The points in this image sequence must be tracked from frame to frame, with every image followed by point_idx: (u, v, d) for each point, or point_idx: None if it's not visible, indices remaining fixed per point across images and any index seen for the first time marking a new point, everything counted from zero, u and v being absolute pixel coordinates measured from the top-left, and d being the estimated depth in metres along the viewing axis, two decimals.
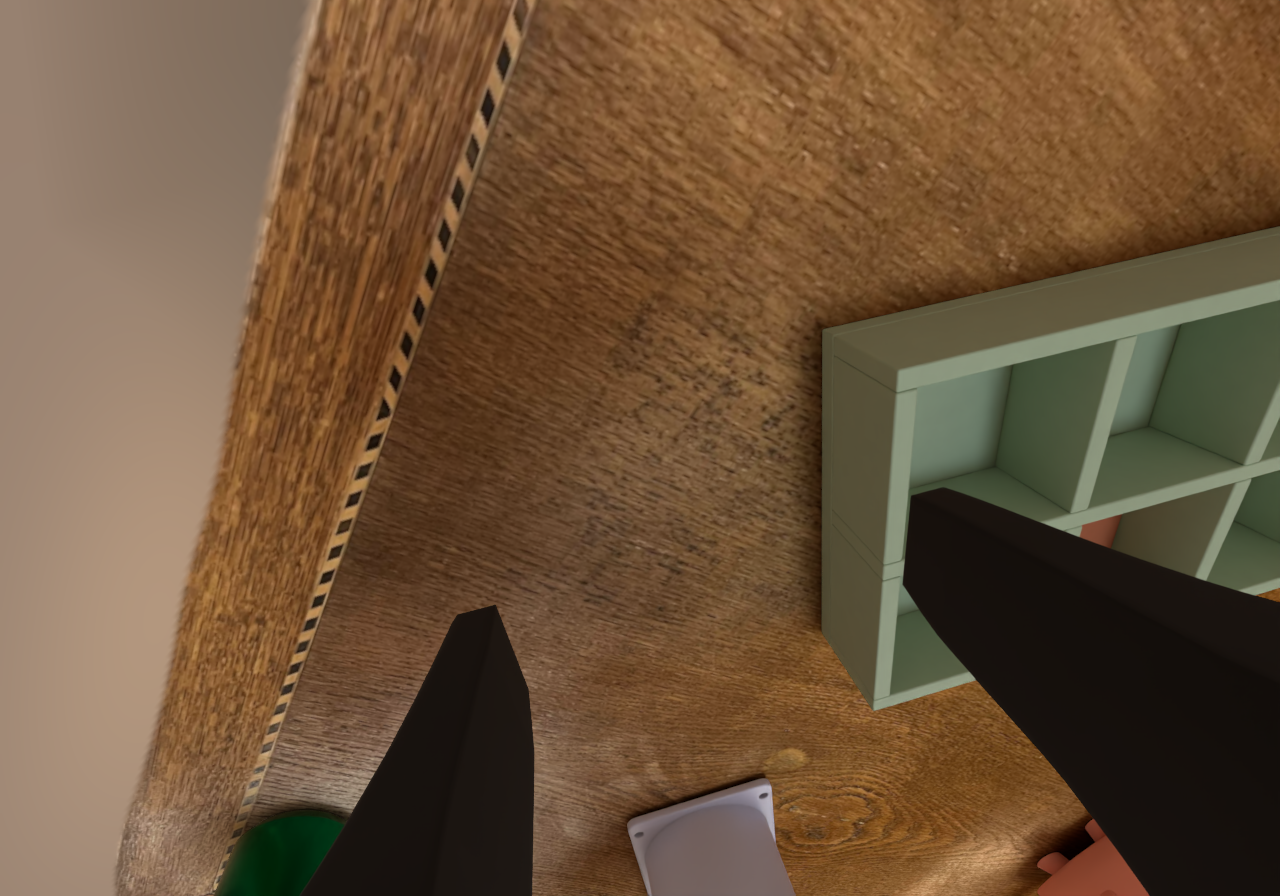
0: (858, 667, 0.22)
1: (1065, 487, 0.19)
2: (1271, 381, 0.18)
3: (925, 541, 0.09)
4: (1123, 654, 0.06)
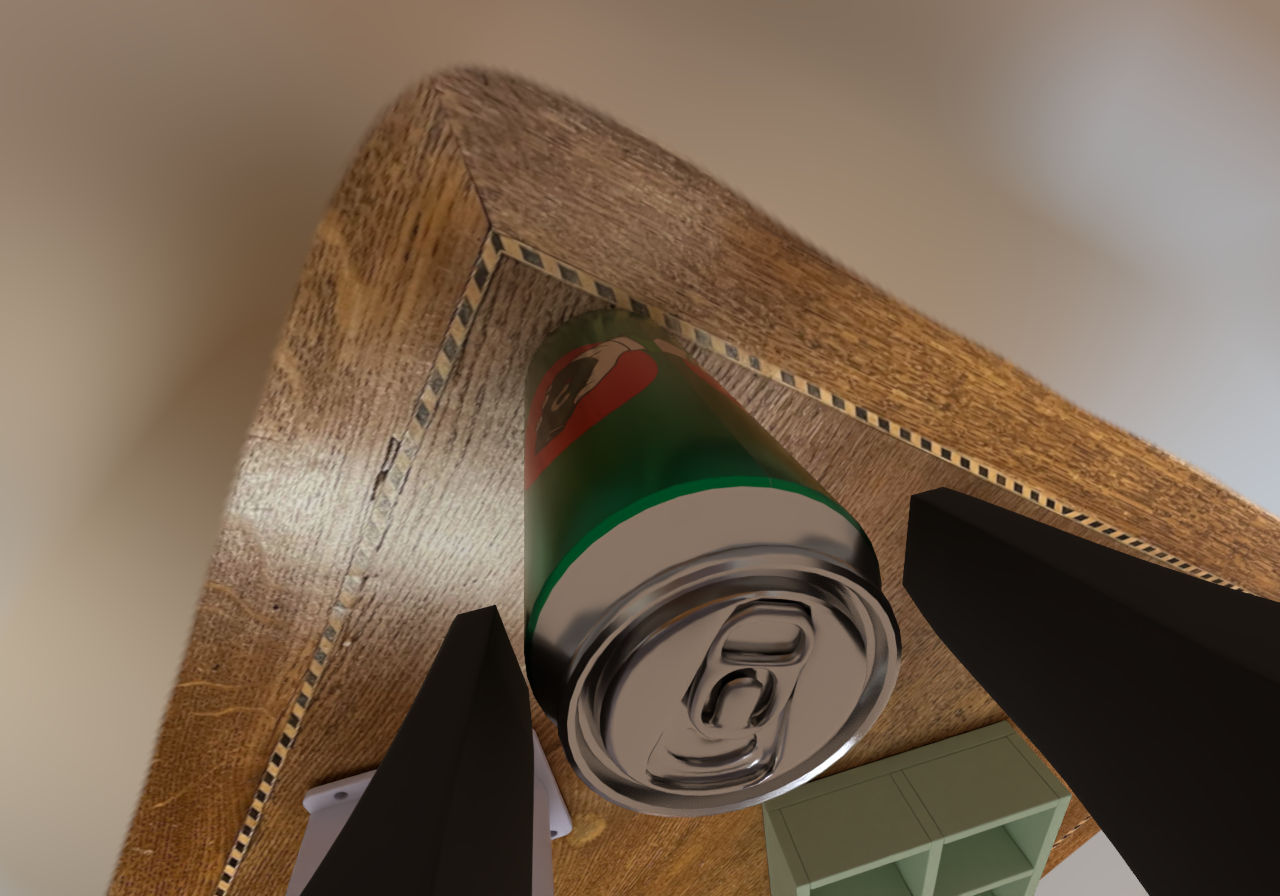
0: (810, 853, 0.27)
1: (941, 891, 0.31)
2: None
3: (925, 541, 0.09)
4: (1123, 654, 0.06)
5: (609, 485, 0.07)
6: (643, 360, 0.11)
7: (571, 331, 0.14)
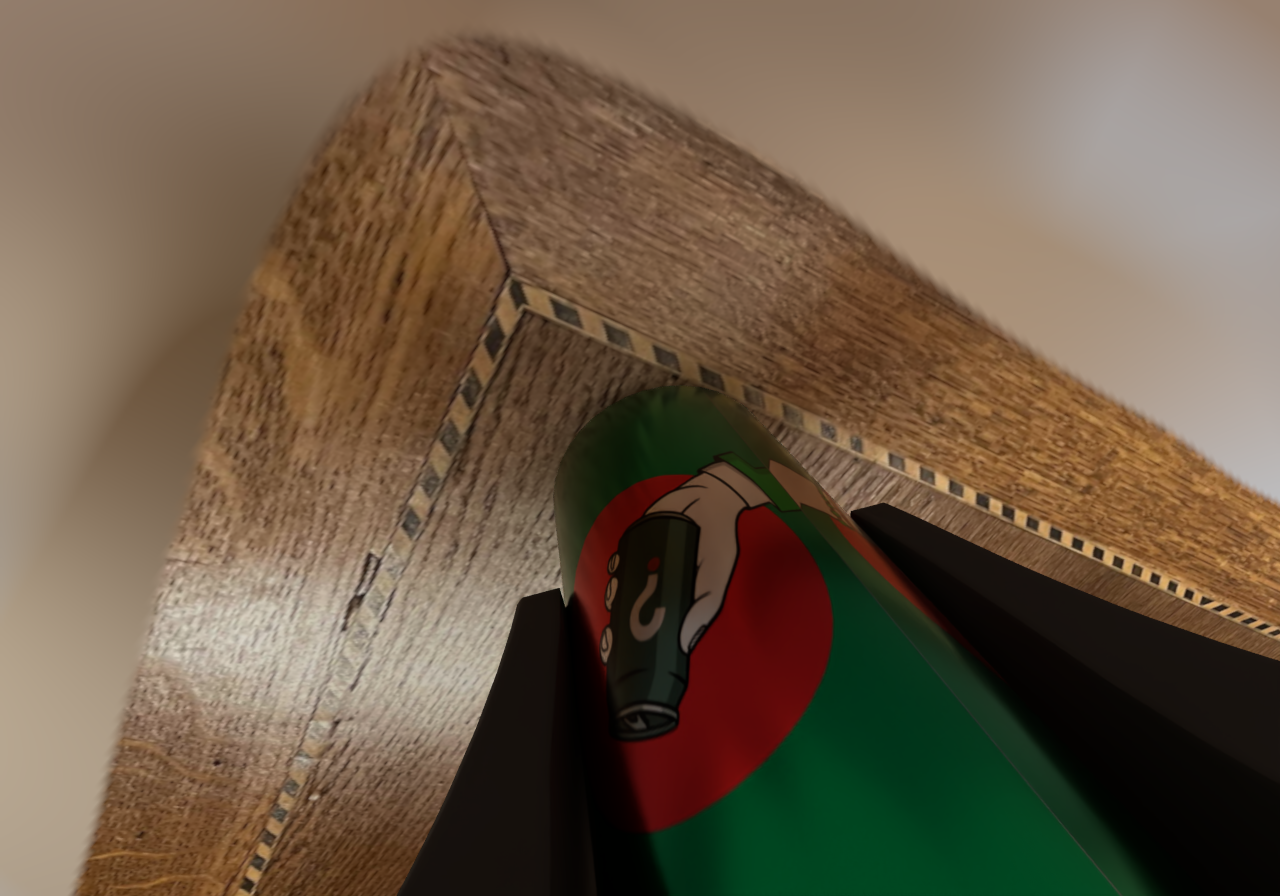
0: None
1: None
2: None
3: None
4: (1036, 680, 0.06)
5: None
6: (783, 542, 0.07)
7: (629, 430, 0.10)
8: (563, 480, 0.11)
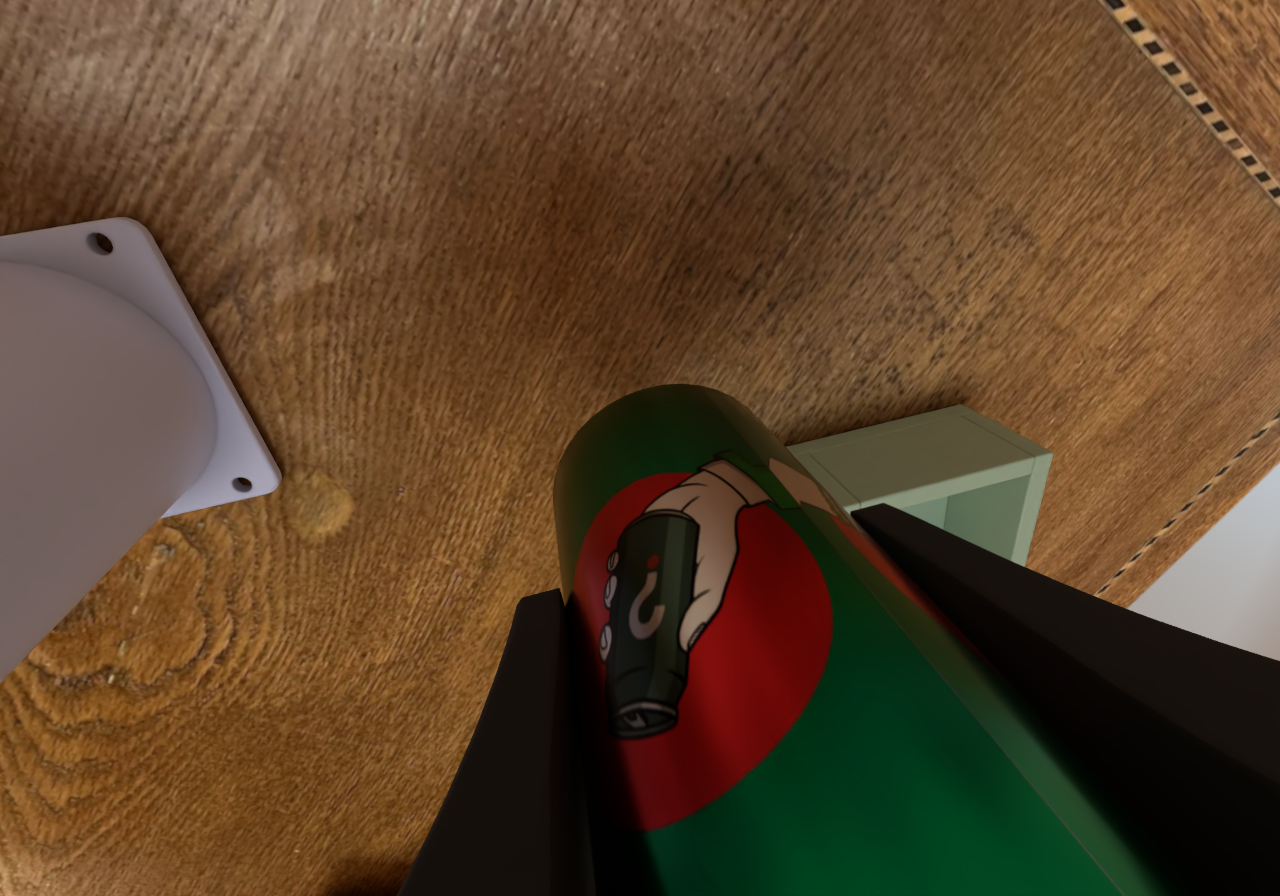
0: None
1: None
2: None
3: None
4: (1036, 680, 0.06)
5: None
6: (783, 540, 0.07)
7: (628, 428, 0.10)
8: (562, 478, 0.11)
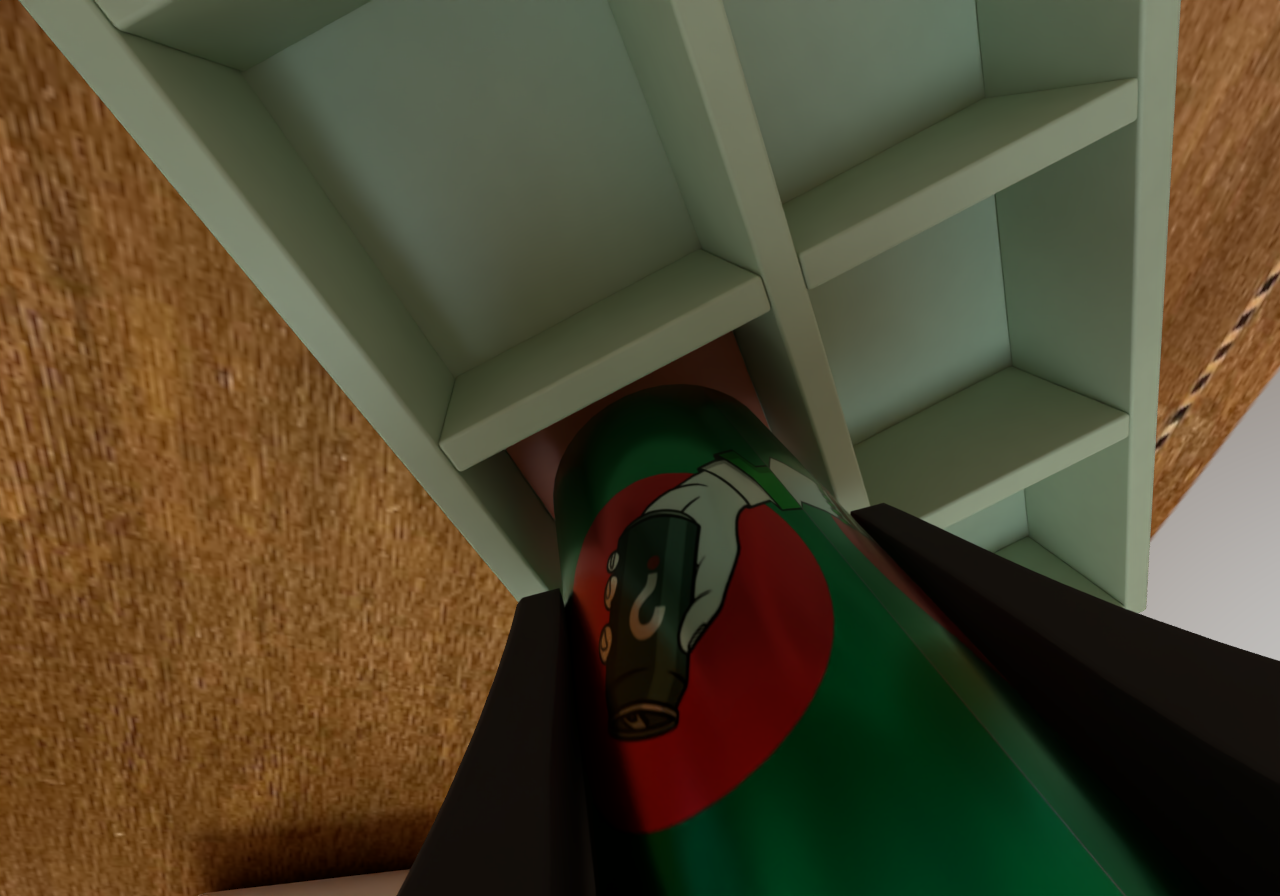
0: None
1: (832, 227, 0.10)
2: (1000, 469, 0.13)
3: None
4: (1036, 681, 0.06)
5: None
6: (784, 540, 0.06)
7: (629, 428, 0.10)
8: (563, 479, 0.11)
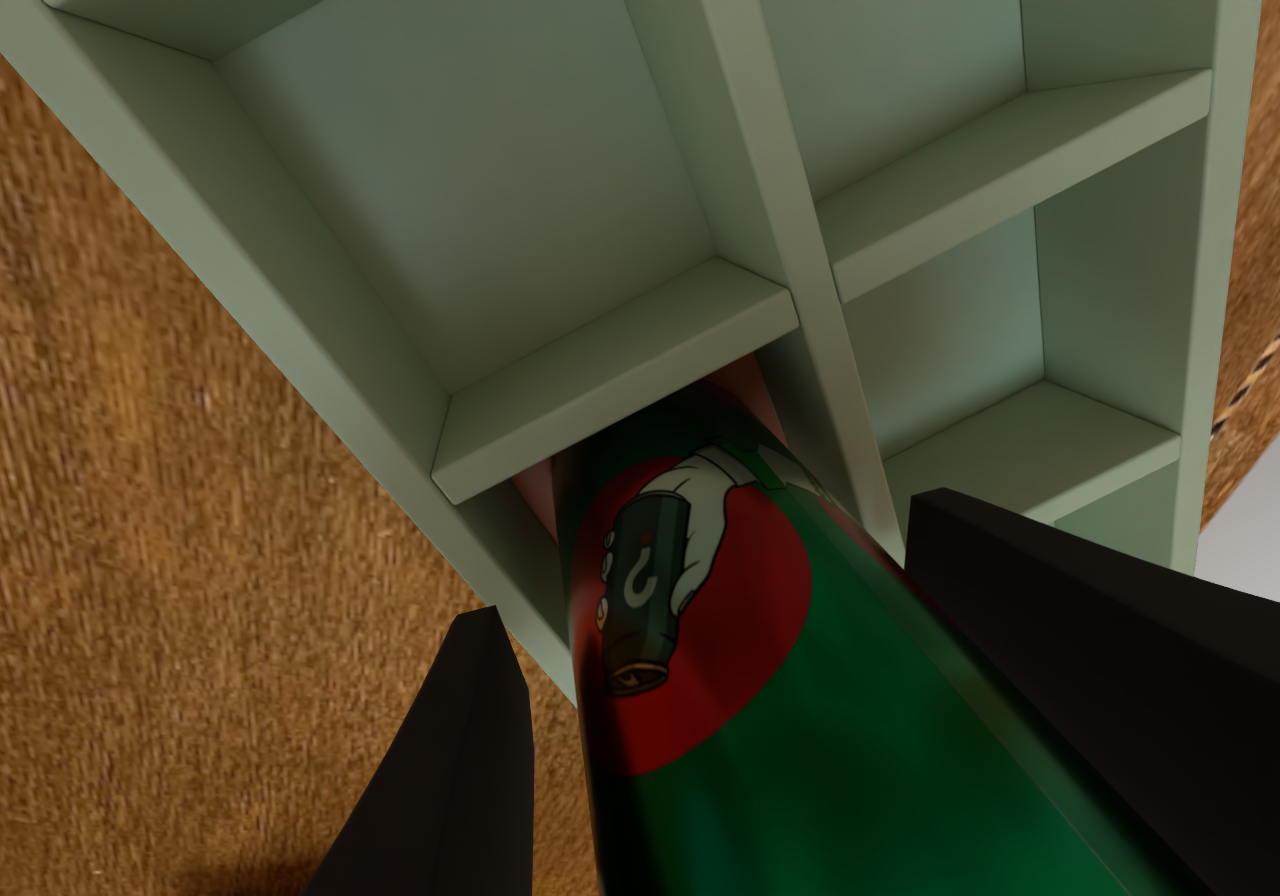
0: None
1: (868, 235, 0.09)
2: (1040, 495, 0.12)
3: (925, 541, 0.09)
4: (1123, 654, 0.06)
5: None
6: (768, 516, 0.07)
7: None
8: (561, 466, 0.11)
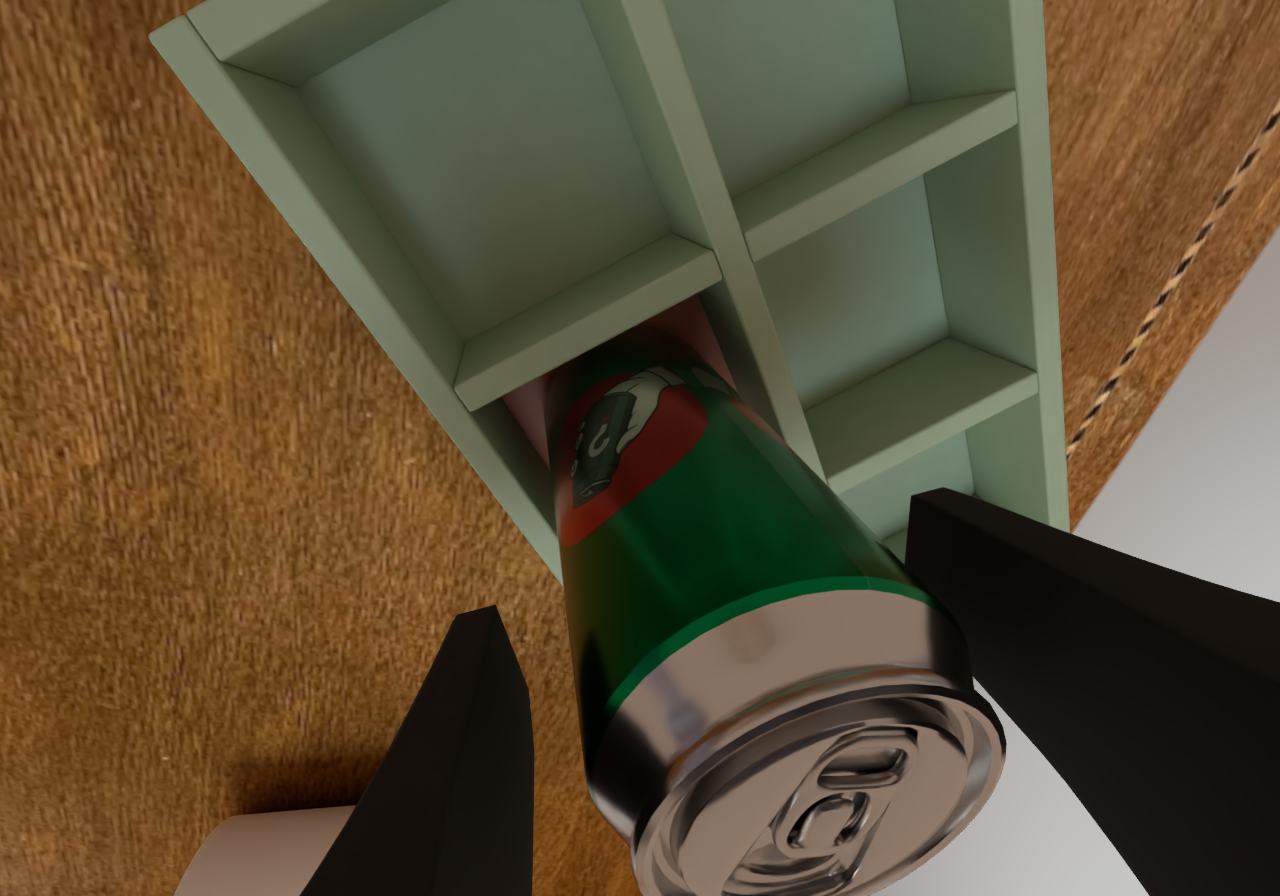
0: None
1: (772, 212, 0.12)
2: (928, 420, 0.15)
3: (925, 541, 0.09)
4: (1123, 654, 0.06)
5: (681, 577, 0.06)
6: (687, 400, 0.10)
7: (598, 353, 0.14)
8: (550, 395, 0.14)
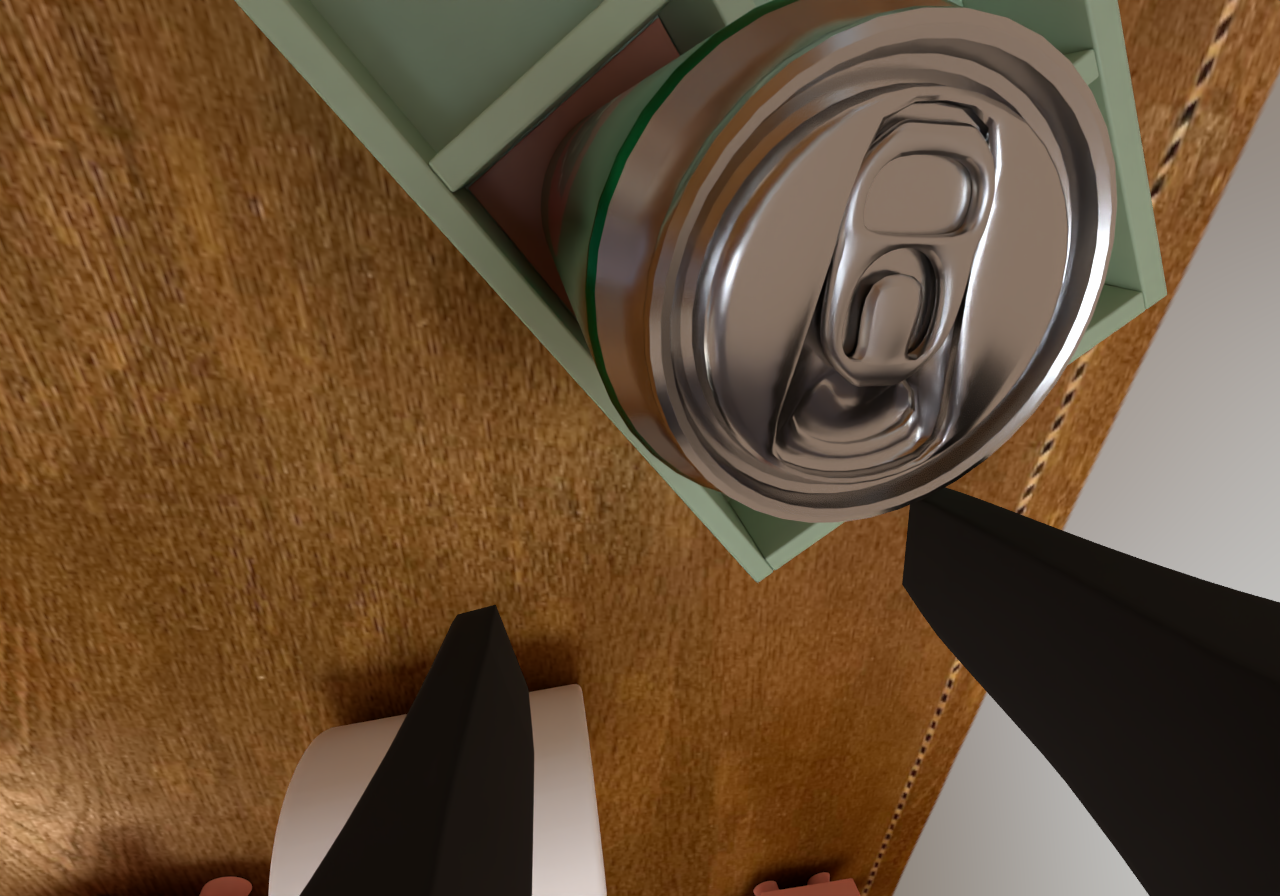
0: None
1: None
2: None
3: (925, 541, 0.09)
4: (1123, 654, 0.06)
5: (660, 75, 0.05)
6: None
7: (580, 122, 0.12)
8: (542, 193, 0.13)
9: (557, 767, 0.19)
